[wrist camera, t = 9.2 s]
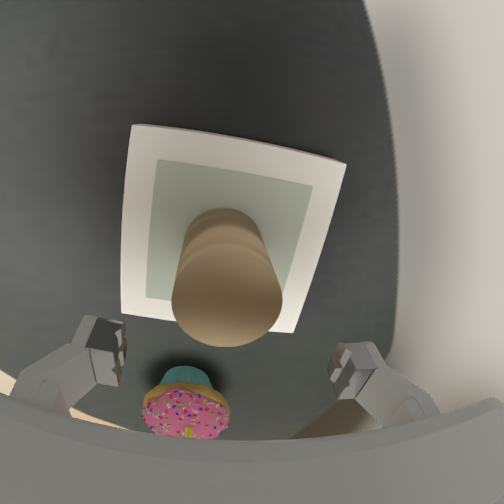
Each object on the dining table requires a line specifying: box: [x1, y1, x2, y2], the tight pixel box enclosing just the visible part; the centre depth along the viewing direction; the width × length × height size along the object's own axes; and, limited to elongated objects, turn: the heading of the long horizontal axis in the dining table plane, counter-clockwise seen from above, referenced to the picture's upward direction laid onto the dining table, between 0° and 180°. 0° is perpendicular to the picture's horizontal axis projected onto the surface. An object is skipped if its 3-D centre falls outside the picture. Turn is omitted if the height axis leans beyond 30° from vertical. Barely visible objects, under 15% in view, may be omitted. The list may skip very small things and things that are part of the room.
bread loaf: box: [171, 208, 283, 347], centre depth 17 cm, size 5×5×7 cm
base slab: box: [121, 124, 347, 333], centre depth 22 cm, size 14×14×3 cm
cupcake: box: [142, 366, 230, 439], centre depth 24 cm, size 9×8×12 cm
